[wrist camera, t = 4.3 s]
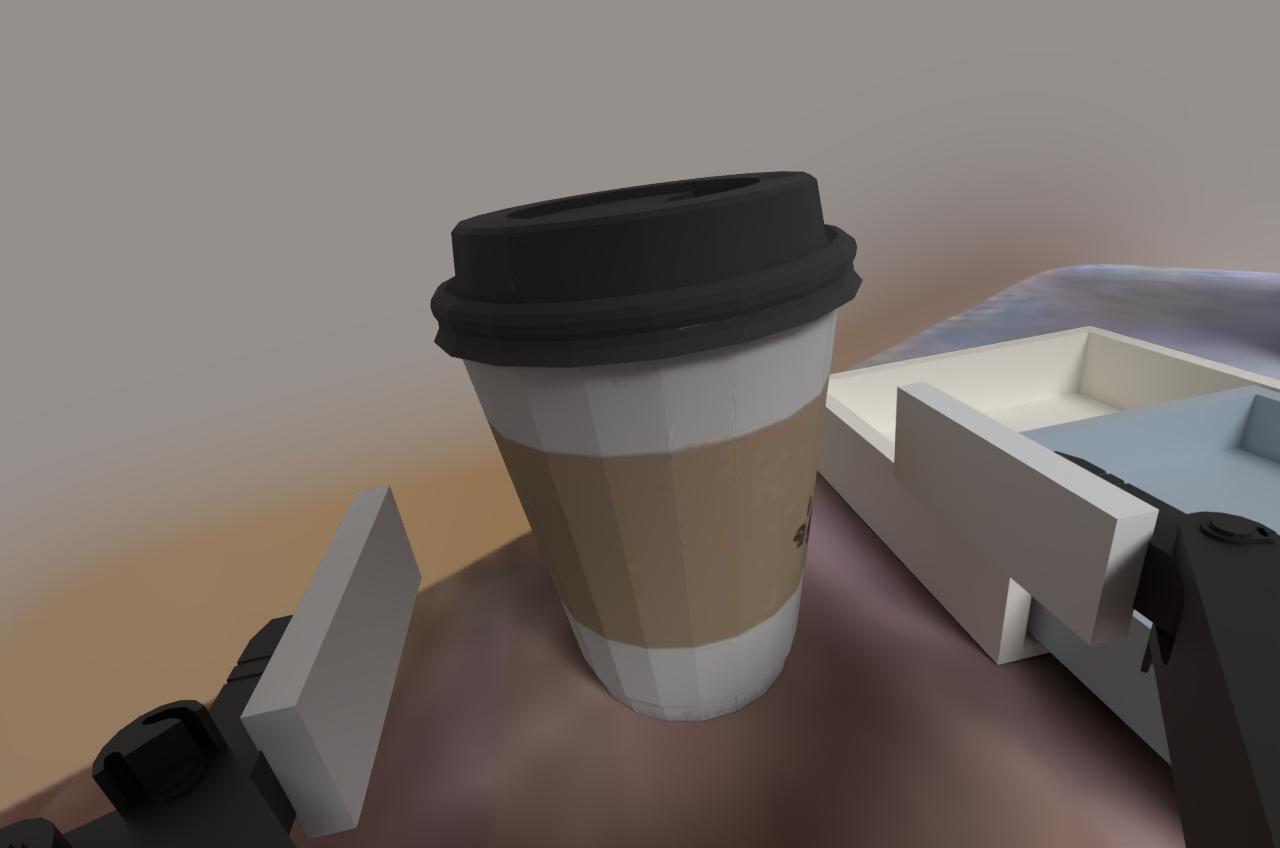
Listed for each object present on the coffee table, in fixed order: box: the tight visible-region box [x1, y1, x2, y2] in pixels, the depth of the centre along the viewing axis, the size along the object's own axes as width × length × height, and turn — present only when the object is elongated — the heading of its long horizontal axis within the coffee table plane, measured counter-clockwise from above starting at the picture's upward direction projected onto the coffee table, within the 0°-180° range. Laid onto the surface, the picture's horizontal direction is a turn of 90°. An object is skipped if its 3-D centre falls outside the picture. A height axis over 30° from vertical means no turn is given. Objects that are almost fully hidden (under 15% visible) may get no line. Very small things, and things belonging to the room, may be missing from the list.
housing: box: [817, 326, 1280, 665], centre depth 26 cm, size 17×16×4 cm
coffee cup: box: [431, 171, 862, 721], centre depth 19 cm, size 11×11×15 cm
